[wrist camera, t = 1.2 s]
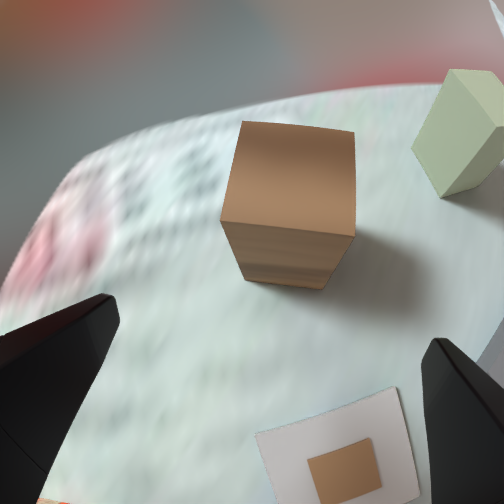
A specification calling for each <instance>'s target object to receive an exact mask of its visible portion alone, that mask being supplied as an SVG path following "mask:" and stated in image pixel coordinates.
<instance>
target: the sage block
mask: <svg viewBox="0 0 504 504" xmlns="http://www.w3.org/2000/svg"><path fill="white" fill-rule="evenodd" d="M411 149H412V151H413V153H414V154H415V156H416V157H417V159H418V161H419V162H420V164H421V166H422V167H423V169H424V171H425V173H426V174H427V176H428V178H429V180H430V181H431V183H432V185H433V187H434V189H435V191H436V192H437V194H438V196H439V198H443V197H446V196H449V195H452V194H456V193H459V192H462V191H465V190H468V189H472V188H475V187H478V186H479V185H480V184H481V183H482V182H483V181H484V180H485V179H486V178H487V176H488V175H489V174H490V173H491V172H492V171H493V170H494V169H495V168H496V167H497V165H498V164H499V163H500V162H501V161H502V160H503V159H504V85H503V84H502V83H501V82H500V80H499V79H498V78H497V77H496V76H495V75H494V74H493V73H492V72H491V71H479V70H462V69H450V70H449V72H448V74H447V76H446V78H445V81H444V83H443V85H442V87H441V89H440V91H439V93H438V96H437V98H436V100H435V102H434V104H433V106H432V108H431V110H430V112H429V114H428V116H427V118H426V120H425V122H424V124H423V126H422V128H421V130H420V132H419V134H418V136H417V137H416V139H415V141H414V143H413V145H412V147H411Z"/></svg>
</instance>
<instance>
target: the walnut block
mask: <svg viewBox="0 0 504 504" xmlns="http://www.w3.org/2000/svg"><path fill="white" fill-rule="evenodd" d="M355 221H356V168H355V138H354V132H349V131H342V130H335V129H328V128H320V127H311V126H302V125H292V124H281V123H268V122H252V121H242V125H241V129H240V133H239V137H238V141H237V146H236V150H235V154H234V159H233V163H232V167H231V172H230V176H229V181H228V185H227V190H226V194H225V199H224V204H223V208H222V213H221V218H220V222H221V224H222V227H223V229H224V232H225V234H226V237H227V239H228V241H229V244H230V246H231V249H232V251H233V253H234V256H235V258H236V260H237V263H238V265H239V268H240V270H241V272H242V275H243V277H244V279H245V280H248V281H256V282H263V283H271V284H279V285H287V286H296V287H304V288H312V289H321V290H322V289H323V288H324V286H325V284H326V283H327V281H328V280H329V278H330V277H331V275H332V273H333V272H334V270H335V269H336V267H337V265H338V264H339V262H340V260H341V259H342V257H343V256H344V254H345V252H346V251H347V249H348V247H349V246H350V244H351V242H352V241H353V239H354V237H355Z"/></svg>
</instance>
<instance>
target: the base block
mask: <svg viewBox="0 0 504 504" xmlns="http://www.w3.org/2000/svg"><path fill="white" fill-rule="evenodd" d="M476 364H477V365H478V366H479V367H480V368H482V369H483V370H484V371H485V372H486V373H487V374H488V375H489V376H490V377H492V378H493V379H494V380H495V381H496V382H497V383H498V384H499V385H500V386H501V387H502V388H503V389H504V318H503V320H502V322H501V323H500V325H499V327H498V329H497V330H496V332H495V334H494V335H493V337H492V339H491V340H490V342H489V344H488V345H487V347H486V348H485V350H484V352H483V353H482V355H481V356H480V358H479V359H478V361H477V362H476Z"/></svg>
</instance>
